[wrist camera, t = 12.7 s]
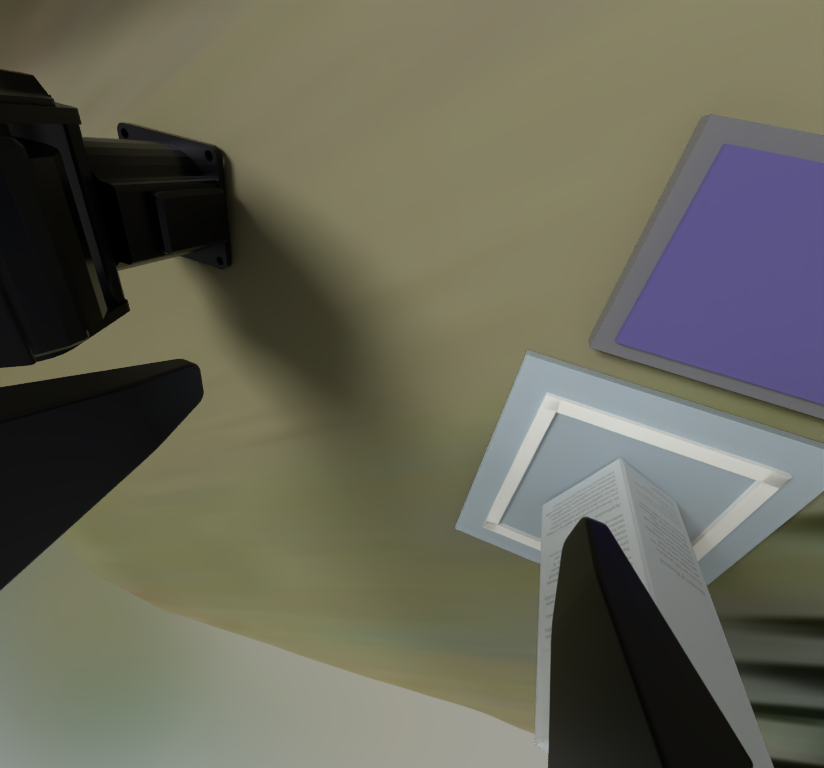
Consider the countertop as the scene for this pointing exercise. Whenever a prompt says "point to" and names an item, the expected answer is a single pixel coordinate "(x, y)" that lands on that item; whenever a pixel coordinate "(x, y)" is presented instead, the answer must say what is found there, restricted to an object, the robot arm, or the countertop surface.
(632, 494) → the skincare box
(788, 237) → the ink pad
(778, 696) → the countertop surface
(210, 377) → the countertop surface
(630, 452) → the board
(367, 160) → the countertop surface
